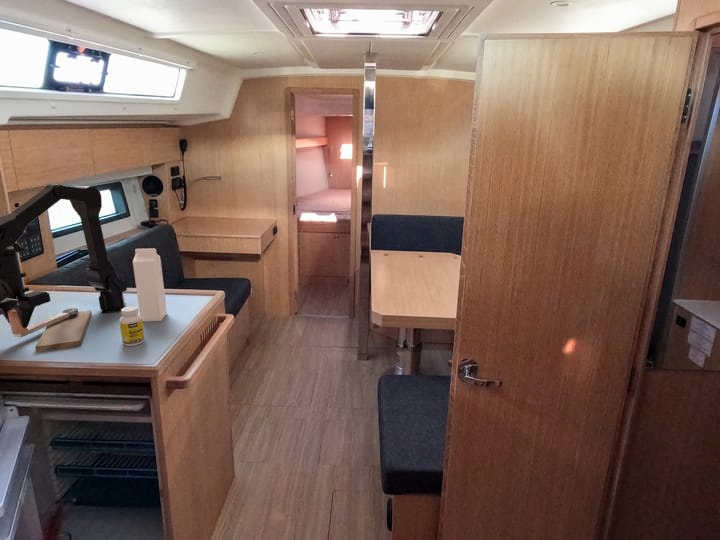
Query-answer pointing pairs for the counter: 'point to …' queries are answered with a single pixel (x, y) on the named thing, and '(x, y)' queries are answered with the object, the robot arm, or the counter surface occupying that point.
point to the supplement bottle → (131, 326)
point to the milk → (149, 284)
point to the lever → (22, 332)
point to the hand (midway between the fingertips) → (19, 326)
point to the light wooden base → (65, 332)
